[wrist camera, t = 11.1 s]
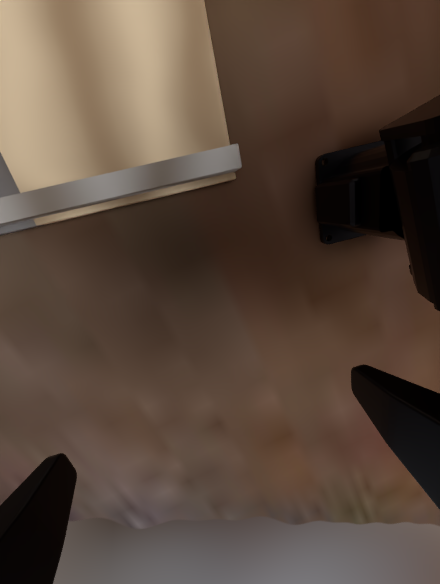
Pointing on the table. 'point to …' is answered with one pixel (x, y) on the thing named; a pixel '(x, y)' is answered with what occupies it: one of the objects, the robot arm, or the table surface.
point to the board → (106, 107)
